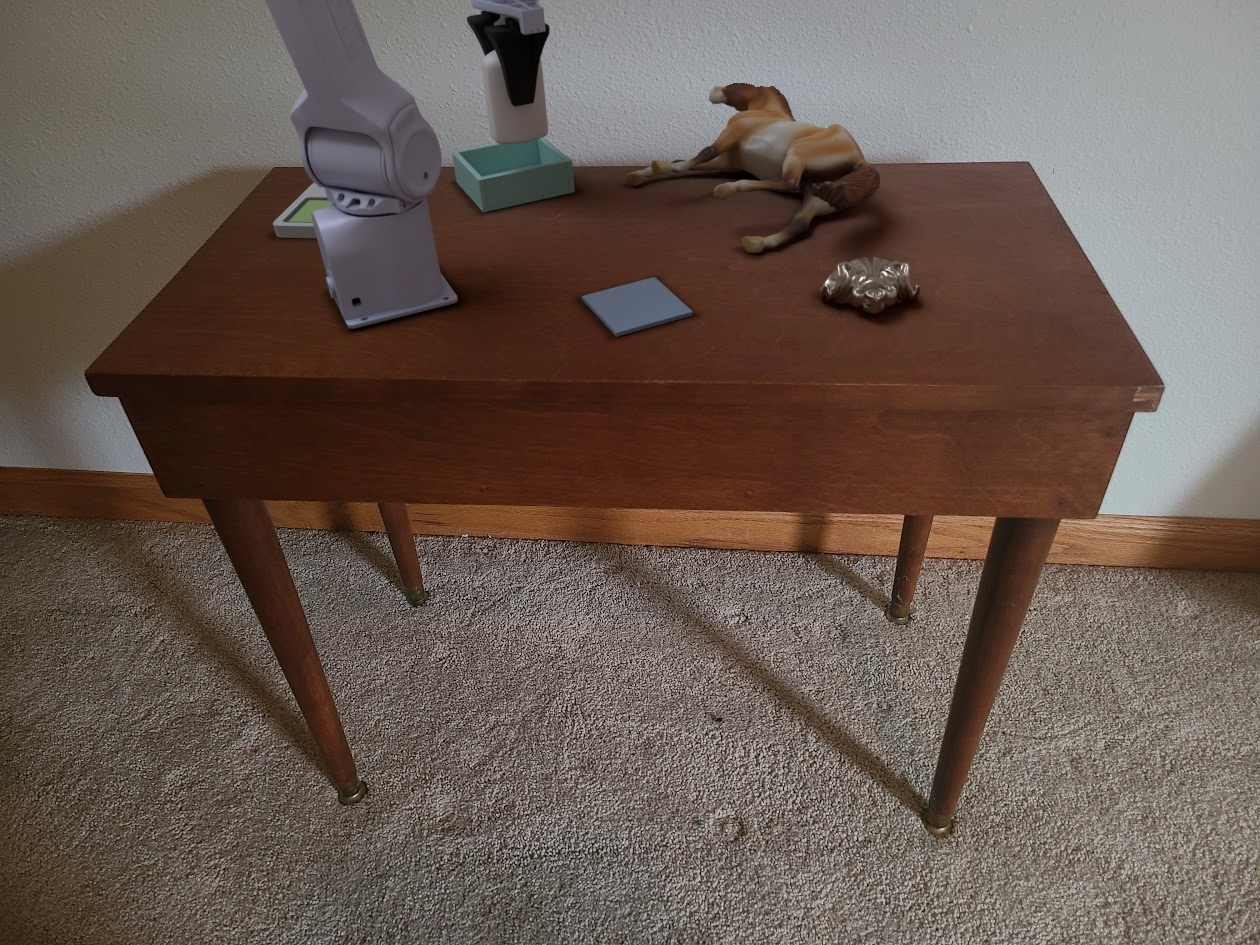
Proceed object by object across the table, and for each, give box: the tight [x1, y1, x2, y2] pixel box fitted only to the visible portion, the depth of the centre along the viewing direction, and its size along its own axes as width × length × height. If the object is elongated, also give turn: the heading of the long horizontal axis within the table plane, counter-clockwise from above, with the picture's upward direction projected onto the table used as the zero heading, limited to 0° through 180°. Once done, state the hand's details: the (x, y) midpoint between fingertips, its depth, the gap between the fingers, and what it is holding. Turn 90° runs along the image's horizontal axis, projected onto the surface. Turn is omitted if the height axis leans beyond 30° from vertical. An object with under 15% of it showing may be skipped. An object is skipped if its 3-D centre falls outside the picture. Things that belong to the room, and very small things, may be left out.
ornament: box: [818, 256, 921, 314], centre depth 74 cm, size 8×7×4 cm
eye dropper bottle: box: [481, 14, 549, 144], centre depth 86 cm, size 4×6×12 cm
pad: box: [581, 276, 694, 338], centre depth 76 cm, size 7×7×1 cm
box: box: [451, 136, 576, 213], centre depth 96 cm, size 10×9×3 cm
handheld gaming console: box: [272, 182, 333, 239], centre depth 94 cm, size 10×2×15 cm
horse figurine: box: [626, 83, 881, 254], centre depth 90 cm, size 31×8×21 cm
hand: (515, 98), depth 88 cm, fingers closed on eye dropper bottle, 3 cm apart
